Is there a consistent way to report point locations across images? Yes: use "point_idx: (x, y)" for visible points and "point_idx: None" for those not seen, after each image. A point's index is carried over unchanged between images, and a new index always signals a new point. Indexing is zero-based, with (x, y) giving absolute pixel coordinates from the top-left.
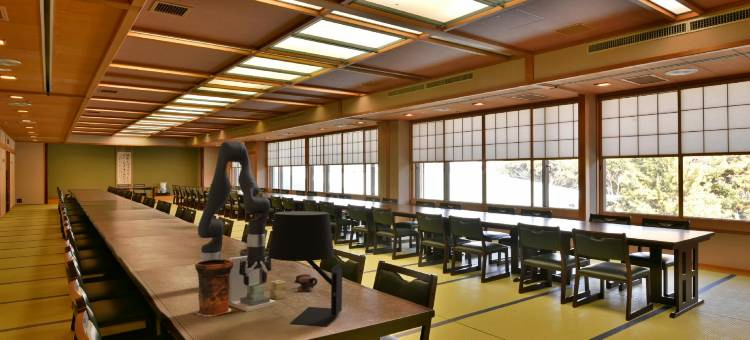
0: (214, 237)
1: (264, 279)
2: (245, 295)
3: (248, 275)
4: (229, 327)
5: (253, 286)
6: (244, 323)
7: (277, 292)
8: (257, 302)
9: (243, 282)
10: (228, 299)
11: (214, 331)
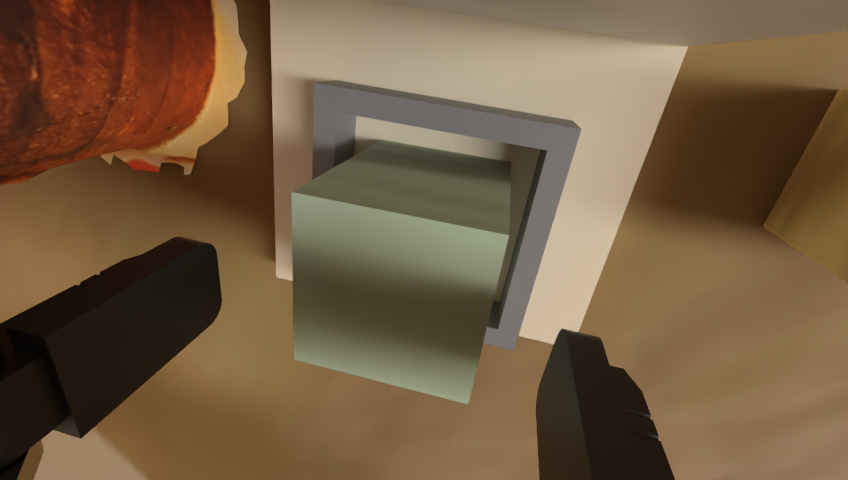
0: None
1: (541, 429)
2: (459, 9)
3: (36, 460)
4: None
5: (313, 324)
6: (166, 381)
7: (820, 263)
8: None
9: (122, 261)
10: (108, 131)
11: None
